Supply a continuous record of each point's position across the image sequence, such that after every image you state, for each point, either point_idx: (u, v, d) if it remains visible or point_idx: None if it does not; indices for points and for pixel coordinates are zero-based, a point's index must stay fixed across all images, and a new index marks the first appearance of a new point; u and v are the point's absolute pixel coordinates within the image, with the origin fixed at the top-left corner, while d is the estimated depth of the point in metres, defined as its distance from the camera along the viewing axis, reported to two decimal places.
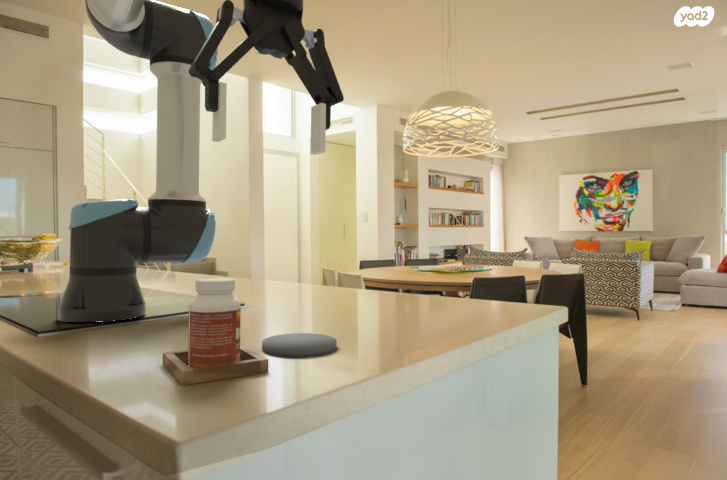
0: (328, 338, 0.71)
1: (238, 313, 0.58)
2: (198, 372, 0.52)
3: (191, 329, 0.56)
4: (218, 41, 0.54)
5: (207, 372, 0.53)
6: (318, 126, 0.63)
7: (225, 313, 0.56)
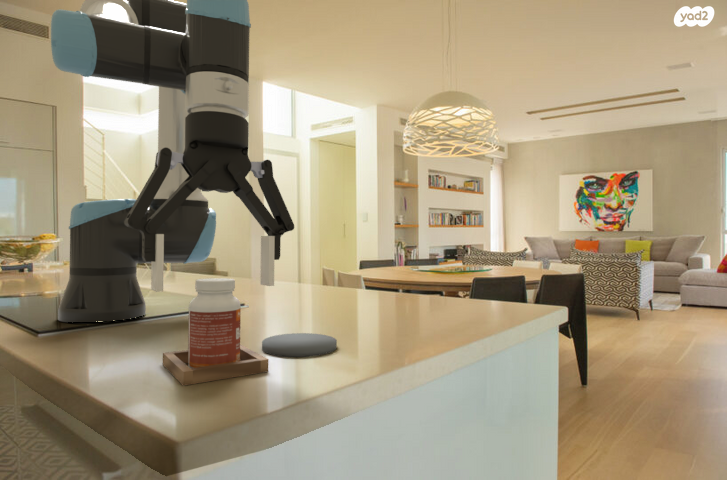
0: (328, 338, 0.71)
1: (238, 313, 0.58)
2: (198, 372, 0.52)
3: (191, 329, 0.56)
4: (154, 192, 0.53)
5: (207, 372, 0.53)
6: (267, 259, 0.61)
7: (225, 313, 0.56)
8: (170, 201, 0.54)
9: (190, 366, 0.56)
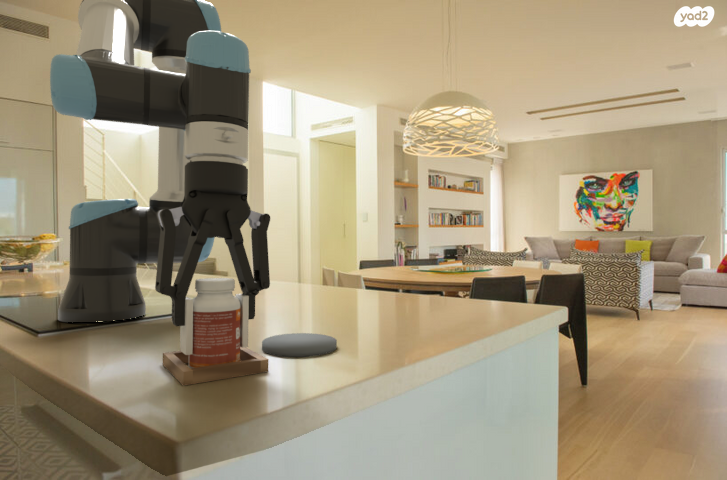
0: (328, 338, 0.71)
1: (238, 313, 0.58)
2: (198, 372, 0.52)
3: None
4: (171, 255, 0.54)
5: (207, 372, 0.53)
6: (240, 319, 0.59)
7: (225, 313, 0.56)
8: (187, 263, 0.55)
9: (190, 366, 0.56)
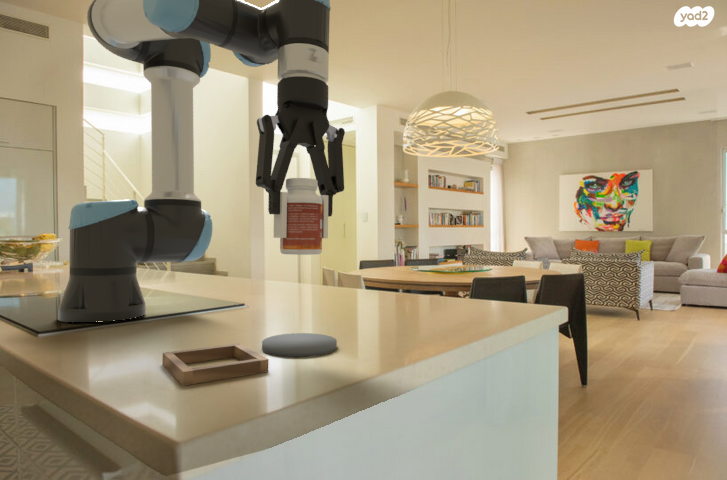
0: (328, 338, 0.71)
1: (321, 207, 0.69)
2: (198, 372, 0.52)
3: None
4: (271, 153, 0.65)
5: (207, 372, 0.53)
6: None
7: (313, 204, 0.67)
8: (283, 161, 0.66)
9: (283, 249, 0.67)
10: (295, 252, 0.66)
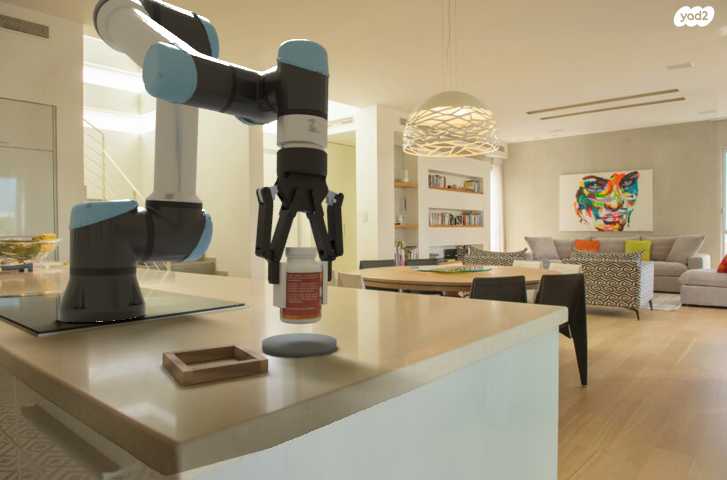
0: (328, 338, 0.71)
1: (321, 275, 0.69)
2: (198, 372, 0.52)
3: None
4: (270, 224, 0.65)
5: (207, 372, 0.53)
6: None
7: (312, 274, 0.67)
8: (282, 232, 0.66)
9: (283, 318, 0.67)
10: (295, 322, 0.66)
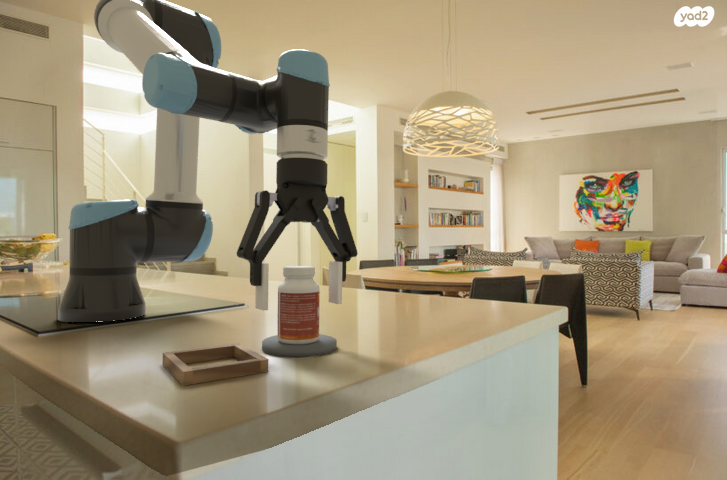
0: (328, 338, 0.71)
1: (318, 294, 0.69)
2: (198, 372, 0.52)
3: (281, 307, 0.67)
4: (260, 228, 0.64)
5: (207, 372, 0.53)
6: (335, 281, 0.72)
7: (310, 294, 0.67)
8: (271, 235, 0.65)
9: (281, 338, 0.67)
10: (292, 343, 0.66)
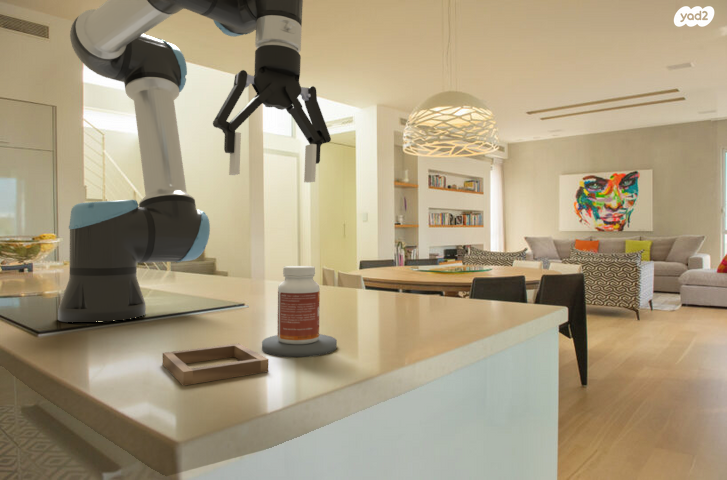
0: (328, 338, 0.71)
1: (319, 294, 0.69)
2: (198, 372, 0.52)
3: (282, 307, 0.67)
4: (235, 101, 0.73)
5: (207, 372, 0.53)
6: (310, 161, 0.82)
7: (310, 294, 0.67)
8: (245, 109, 0.74)
9: (281, 338, 0.67)
10: (292, 343, 0.66)
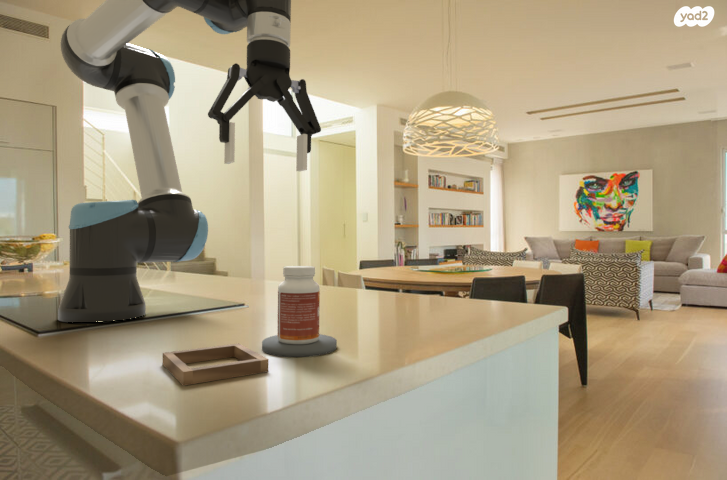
0: (328, 338, 0.71)
1: (319, 294, 0.69)
2: (198, 372, 0.52)
3: (282, 307, 0.67)
4: (229, 93, 0.77)
5: (207, 372, 0.53)
6: (301, 151, 0.85)
7: (310, 294, 0.67)
8: (239, 101, 0.78)
9: (281, 338, 0.67)
10: (292, 343, 0.66)
